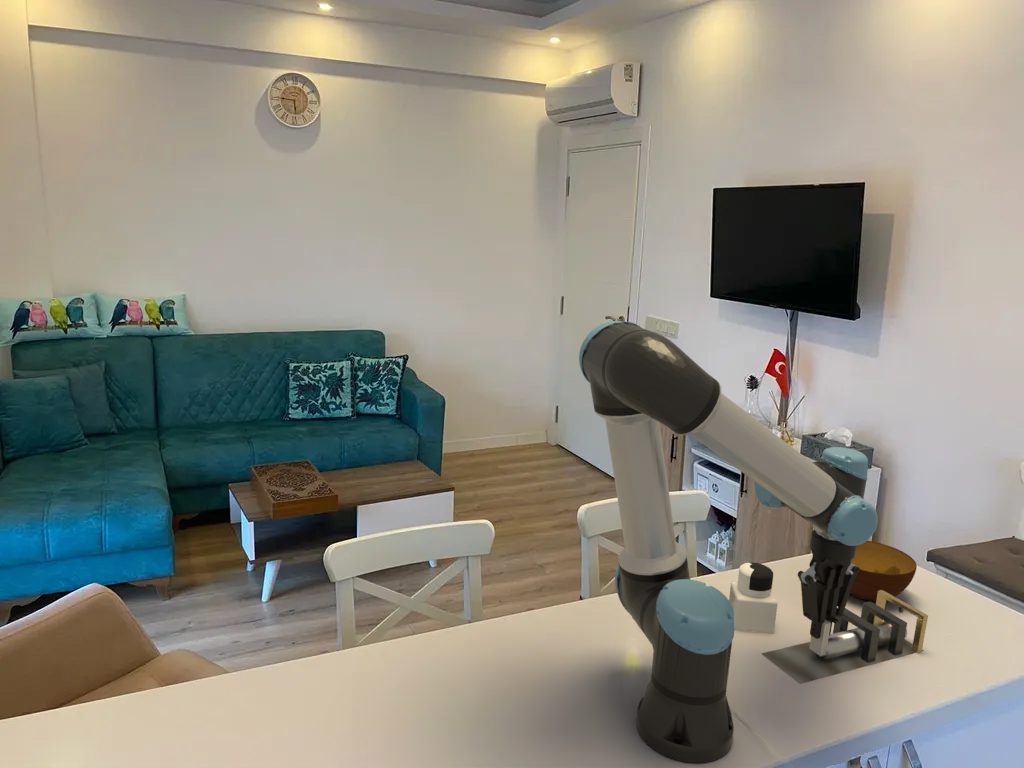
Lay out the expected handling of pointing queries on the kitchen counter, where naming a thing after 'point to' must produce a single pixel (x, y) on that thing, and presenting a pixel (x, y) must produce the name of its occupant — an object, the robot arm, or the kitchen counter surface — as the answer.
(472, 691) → the kitchen counter surface
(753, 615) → the container
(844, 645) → the tube
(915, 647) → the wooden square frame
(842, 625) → the collar
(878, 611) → the collar
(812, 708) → the kitchen counter surface
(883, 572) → the bowl
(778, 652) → the board
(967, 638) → the kitchen counter surface
